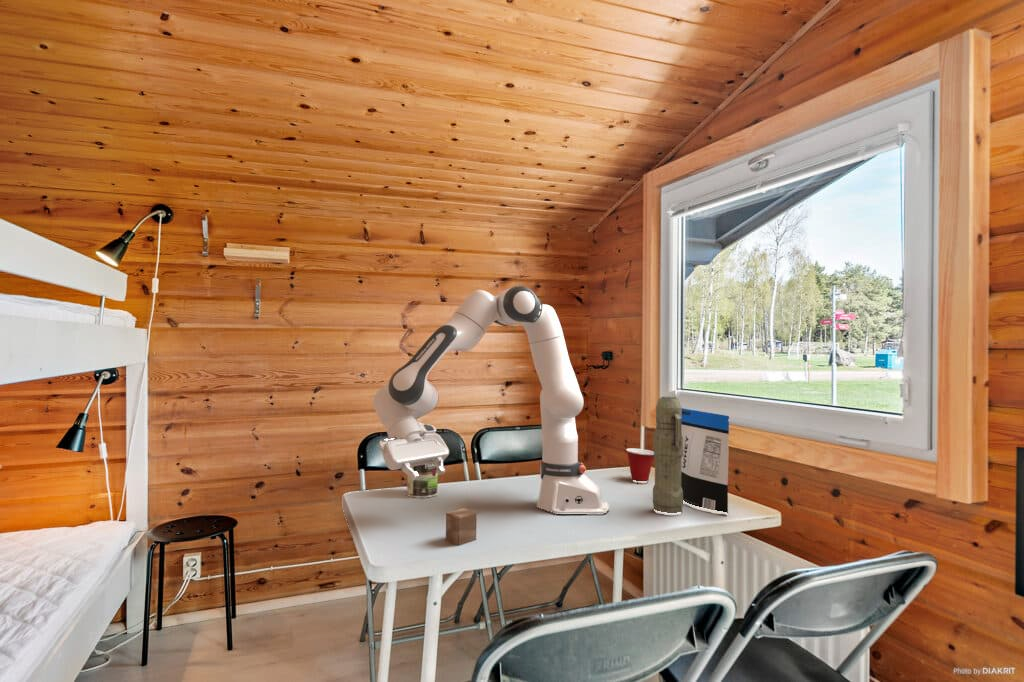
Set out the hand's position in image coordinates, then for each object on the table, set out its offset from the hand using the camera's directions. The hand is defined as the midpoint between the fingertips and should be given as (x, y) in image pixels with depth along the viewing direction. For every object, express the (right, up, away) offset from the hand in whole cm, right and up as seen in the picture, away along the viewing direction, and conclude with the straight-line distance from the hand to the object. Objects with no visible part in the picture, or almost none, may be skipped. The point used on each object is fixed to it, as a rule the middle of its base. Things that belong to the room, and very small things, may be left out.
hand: (429, 476), depth 159 cm
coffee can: (-8, -15, +38) cm, 42 cm away
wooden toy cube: (+9, -15, -8) cm, 19 cm away
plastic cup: (+70, -16, +60) cm, 94 cm away
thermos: (+70, -16, +21) cm, 75 cm away
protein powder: (+83, -16, +29) cm, 89 cm away
